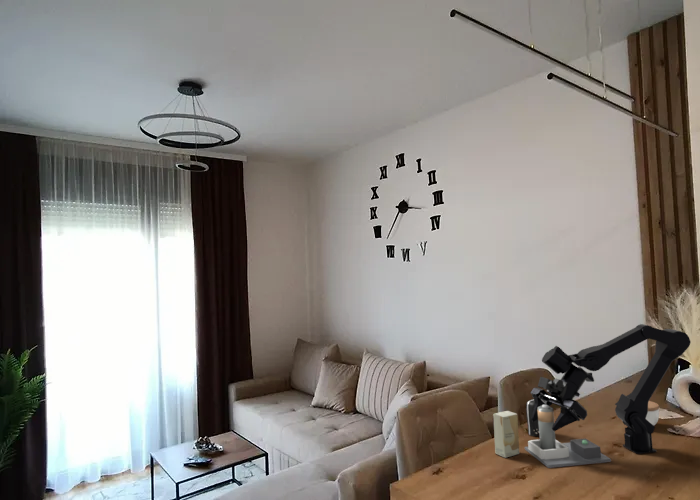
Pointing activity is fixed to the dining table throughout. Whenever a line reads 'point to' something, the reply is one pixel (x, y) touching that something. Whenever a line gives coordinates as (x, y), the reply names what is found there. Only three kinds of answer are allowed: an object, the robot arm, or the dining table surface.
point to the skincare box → (506, 434)
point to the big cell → (546, 427)
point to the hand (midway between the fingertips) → (542, 425)
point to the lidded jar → (652, 412)
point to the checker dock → (567, 453)
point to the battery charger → (532, 426)
